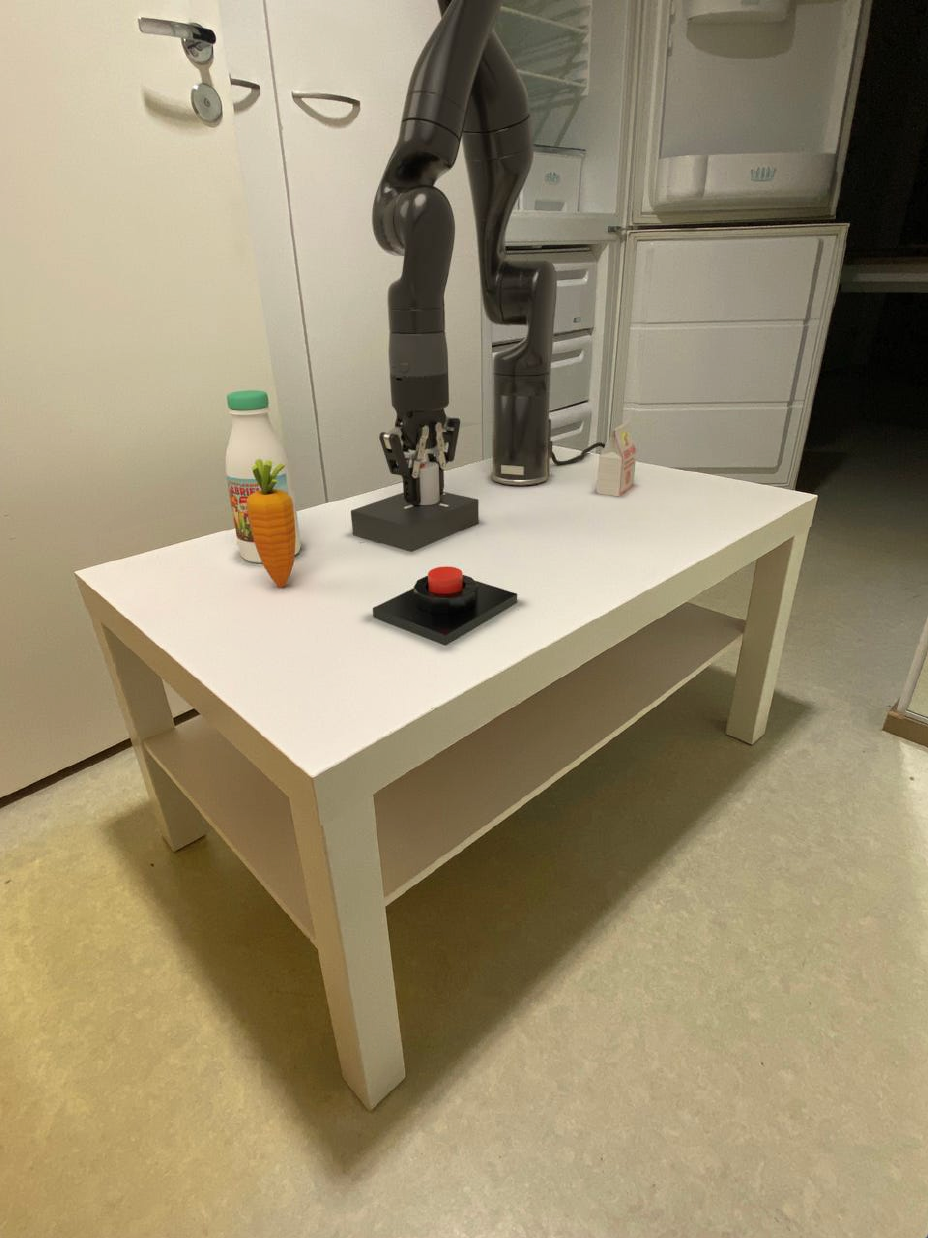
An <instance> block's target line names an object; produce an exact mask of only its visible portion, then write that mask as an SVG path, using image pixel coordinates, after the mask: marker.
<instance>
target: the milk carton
mask: <svg viewBox="0 0 928 1238" xmlns="http://www.w3.org/2000/svg"><path fill="white" fill-rule="evenodd" d="M637 452H638V448H637V445H636V443H635V439H634V437H633V434H632V431H631V425H630V422H625V423H623V424H621V425H619V426H618V427H616V428H613V429H612V430H611V432H610V435H609V438H608V439H607V442H606V443H605V447H604V448H602V451H601V452H600V454H599V456H598V466H597V467H598V469H597V480H596V481H597V482H596V494H599V495H605V496H613V497H621V496H622V495H623V494H624V493H627V491H628V490H630V489H631V488H632V487H634V483H635V472H636V463H637Z"/></svg>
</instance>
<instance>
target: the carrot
mask: <svg viewBox="0 0 928 1238" xmlns="http://www.w3.org/2000/svg"><path fill="white" fill-rule="evenodd" d="M255 464H256V465H255V466H253V467H252V471H253V474H254V476H255V479H256V480H257V482H258V484H259V486H260V488H261V490H259V491H257V492H255V493H253V494H251V495H250V496H249V497H248V498H247V501H246V506H247V512H248V517H249V522H250V527H251V531H252V536H253V539H254V542H255V545H256V548H257V551H258V554H259V556H260V559H261V561H262V563H261V564H262V566H263V567H264V569H265V571H266V572H267V574H268V577H270V578H271V580H272V581H273V583H274V584H275V585H276V587H278V588H279V589H283V588H284V587H285V586H286V585H287V584H288V581H289V579H290V577H291V574H292V571H293V567H294V563H295V556H296V555H295V539H296V535H295V521H294V511H293V503H292V500H291V497H290V496H289V495H288V494H287V493H286V492H284V491H283V490H279V489H273V487H274V486H275V484H276V483H277V481H278V480H276V479H275V478H276V476H277V474H278V473H279V471H281V470H282V469H283V468H284V465H283V464H279V465H278V466H277V467H276V468H275V469H274V470H273V472H272V474H270V472H271V468H272V462H271V461H270V460H266V461H265V464H264V465H263V462H262V460H261V459H258V460H256V461H255Z"/></svg>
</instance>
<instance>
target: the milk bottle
mask: <svg viewBox="0 0 928 1238" xmlns="http://www.w3.org/2000/svg"><path fill="white" fill-rule="evenodd" d="M226 401H227V407H228V411H229V412H228V413H229V414H230V415H231V419H232V420H231V421H232V424H231V432H230V437H229V441H228V445H227V448H226V453H225V475H226V482H227V488H228V496H229V500H230V501H229V502H230V506H231V513H232V519H233V524H234V529H235V537H236V541H237V547H238V552H239V555H240V556H241V557H242V559H244V560H246V561H247V562H251V563H260V564H262V561H261V559H260V556H259V554H258V551H257V548H256V545H255V542H254V539H253V536H252V531H251V527H250V522H249V517H248V512H247V506H246V501H247V498H248V497H249V496H250V495H251V494H253V493H255V492H257V491H259V490H261V488H260V486H259V484H258V482H257V480H256V479H255V476H254V474H253V471H252V467H253V466H255V465H256V464H255V461H256V460H258V459H261V460H262V462H263V465H264V464H265V461H266V460H270V461H271V462H272V468H271V472H270V474H272V472H273V470H274V469H275V468H276V467H277V466H278V465H279V464H283V465H284V468H283V469H282V470H281V471H279V473H278V474H277V476H276V478H275V479H276V480H278V481H277V483H276V484H275V486H274V487H273V489H279V490H283V491H284V492H286V493H287V494H288V495H289V496H290V497H291V500H292V503H293V511H294V521H295V535H296V539H295V555H294V556H296V555H297V554H299V552H300V551H301V536H300V535H301V534H300V527H299V520H298V513H297V504H296V498H295V491H294V484H293V483H294V482H293V476H292V471H291V466H290V461H289V457H288V454H287V451H286V449H285V447H284V445H283V443H282V441H281V440H280V439H279V437H278V435H277V434H276V431H275V430H274V428H273V426H272V423H271V421H270V417H269V411H270V409H271V408H270V407H269V396H268V393H267V392H266V391H264V390H255V389H254V390H253V389H252V390H251V389H249V390H239V391H233V392H230V393H228V394H227V395H226Z"/></svg>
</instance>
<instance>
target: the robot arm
mask: <svg viewBox="0 0 928 1238" xmlns="http://www.w3.org/2000/svg"><path fill="white" fill-rule="evenodd" d="M436 1H437V6H438V11H439V15H440V20H439V22H438V23H437V25H436V26H435V28H434V30H433V31H432V32H431V35H430V36H429V38H428V39H427V42H426V43H425V44H424V46H423V48H422V50H421V52H420V53H419V56H418V58H417V60H416V62H415V65H414V66H413V69H412V71H411V75H410V78H409V81H408V85H407V90H406V95H405V99H404V105H403V109H402V115H401V120H400V126H399V133H398V138H397V141H396V143H395V146H394V147H393V150H392V152H391V154H390V157H389V159H388V161H387V163H386V166H385V169H384V171H383V173H382V176H381V179H380V181H379V184H378V186H377V189H376V192H375V196H374V200H373V204H372V210H371V226H372V232H373V235H374V238H375V240H376V242H377V244H378V246H379V247H380V248H381V249H382V250H383V251H384V252H385V253H387V254H389V255H390V256H391V255H392V256H396V257H403V262H402V270H401V276H400V277H399V278H398V279H396V280H394V281H393V282H391V283H390V284H389V286H388V289H387V293H386V294H387V298H386V299H387V301H386V302H387V316H388V317H387V319H388V331H389V334H388V366H389V367H388V368H389V369H388V370H389V384H390V399H391V400H390V402H391V406H392V408H393V409H394V411H395V412H396V417H395V422H394V427H393V428H392V429H391V430H389V431H387V432H386V431H382V432H380V433H379V437H378V438H379V442H380V445H381V448H382V452H383V455H384V458H385V461H386V463H387V467H388V470H389V473H390V474H391V475H397V476H401V478H402V489H403V492H404V498H405V500H406V502H407V503H409V504H413V505H417V504H419V503H420V502H421V497H420V478H419V477H418V475H419V468H420V462H423V460H424V458H425V459H426V462H434V463H437V464H438V465H439V493H440V496H441V495H443V492H444V490H445V469H446V467H447V464H448V463H449V462H450V463H452V462H454V460H455V456H456V450H457V444H458V440H459V439H458V438H459V433H460V426H461V419H460V418H458V417H452V416H447V414H446V412H445V409H446V408H447V407H448V406H449V405H450V388H449V387H450V383H449V381H450V380H449V351H448V342H447V337H446V336H447V335H446V310H445V292H446V287H447V283H448V279H449V276H450V275H449V273H450V269H451V264H452V257H453V253H454V246H455V240H456V223H455V222H456V221H455V215H454V212H453V208H452V205H451V202H450V200H449V199H448V197H447V195H446V194H445V193H444V192H443V191H442V190H441V189H440V188H438V187H436V186H435V184H436V182H437V181H438V180H439V179H440V178H441V177H442V176H444V175H445V174H447V173H448V172H449V171H450V170H452V168H453V167H454V166H455V163H456V161H457V159H458V155H459V151H460V147H462V153H463V159H464V165H465V169H466V175H467V179H468V180H467V181H468V186H469V191H470V198H471V205H472V211H473V219H474V227H475V237H476V238H475V239H476V247H477V261H478V273H479V284H480V294H481V295H480V296H481V302H482V307H483V311H484V314H485V317H486V318H487V321H488V322H489V323H490V324H492V325H495V326H501V327H527V330H526V335H525V337H524V339H522V340H521V341H520V342H519V343H517V344H516V345H514V346H511V347H509V348H506V349H503V350H500V351H498V352H496V353H494V354H493V357H492V471H491V479H492V481H494V482H496V483H498V484H501V485H506V486H507V485H508V486H533V485H537V484H542V483H543V482H546V481H547V480H548V476H550V460H551V461H552V462H553V464H555V465H556V466H557V465H558V466H566V465H570V464H573V463H575V462H578V461H581V460H582V459H583V458H584V457H585V455H586V454H587V453H589V452H591V451H592V450H594V449H595V448H598V447H601V448H602V449H604V447H605V445H606V443H604V442H601V441H600V442H599V441H598V442H595V443H593V444H591V445H590V446H588V447H586V448H585V449H584V450H582V451H581V452H580V454H579V455H577V456H575V457H572V458H569V459H567V460H557V457H556V455H555V453H554V451H553V443H554V442H553V440H551V436H552V420H551V418H550V406H551V405H550V403H551V402H550V400H551V375H552V374H551V372H552V358H553V357H552V356H553V346H554V330H555V318H556V307H557V295H558V279H557V271H556V269H555V266H554V264H553V262H552V261H551V260H549V259H545V258H519V259H516V258H515V259H508V255H507V251H506V234H507V229H508V226H509V225H508V224H509V222H510V219H511V215H512V213H513V210H514V209H515V206H516V204H517V202H518V199H519V198H520V195H521V192H522V191H523V189H524V186H525V184H526V182H527V179H528V177H529V175H530V171H531V169H532V164H533V161H534V153H535V152H534V151H535V150H534V138H533V137H534V136H533V125H532V117H531V116H532V115H531V105H530V97H529V94H528V91H527V88H526V86H525V83H524V82H523V79H522V77H521V75H520V72H519V71H518V70H517V69H518V68H516V65H515V64H514V62H513V60H512V58H511V57H510V55H509V54H508V52H507V50H506V49H505V47H504V45H503V44H502V42H501V40H500V38H499V36H498V34H497V32H496V31H495V29H494V25H495V23H496V21H497V17H498V15H499V12H500V10H501V8H502V4H503V2H504V0H436ZM447 444H448V446H447V449H446V445H447ZM410 451H414V452H410ZM410 460H411V463H410ZM410 464H411V468H409V465H410Z"/></svg>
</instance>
